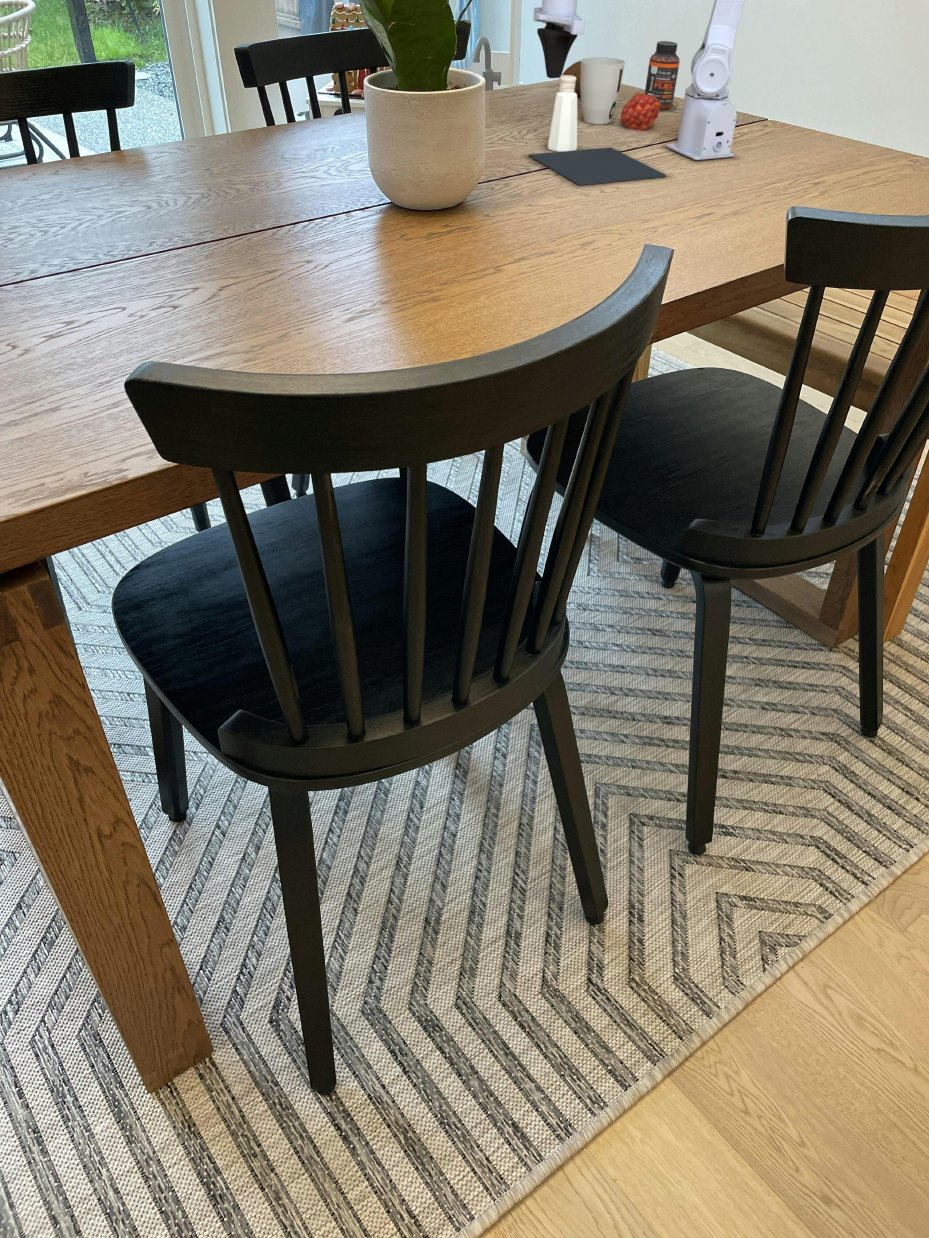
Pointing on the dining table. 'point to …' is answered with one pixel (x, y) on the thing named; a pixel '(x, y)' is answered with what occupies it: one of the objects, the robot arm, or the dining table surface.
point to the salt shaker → (564, 117)
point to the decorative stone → (640, 111)
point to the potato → (575, 75)
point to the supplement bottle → (663, 73)
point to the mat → (596, 166)
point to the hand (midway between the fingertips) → (553, 77)
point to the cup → (600, 88)
